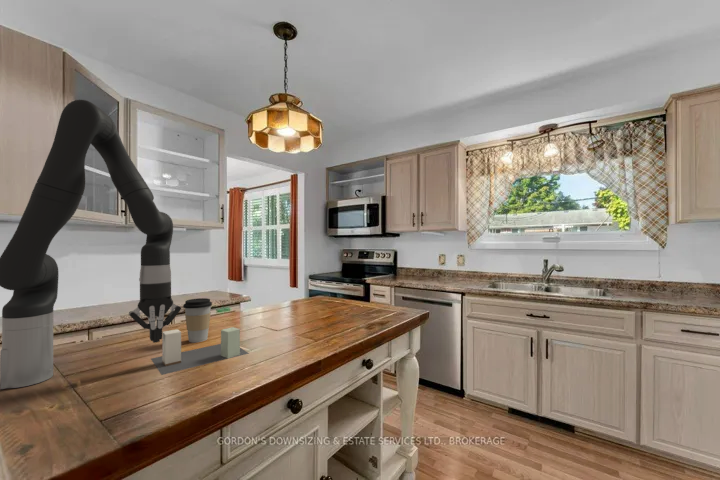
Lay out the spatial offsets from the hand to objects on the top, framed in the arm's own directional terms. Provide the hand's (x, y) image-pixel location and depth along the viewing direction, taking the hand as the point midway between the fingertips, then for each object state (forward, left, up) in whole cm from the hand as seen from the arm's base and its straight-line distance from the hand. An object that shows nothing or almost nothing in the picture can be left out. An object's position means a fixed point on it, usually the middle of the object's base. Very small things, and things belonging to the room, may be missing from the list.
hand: (156, 341), depth 90 cm
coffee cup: (+16, +18, -8) cm, 25 cm away
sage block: (+19, -5, -7) cm, 21 cm away
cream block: (+4, 0, -7) cm, 8 cm away
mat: (+12, 0, -8) cm, 14 cm away
